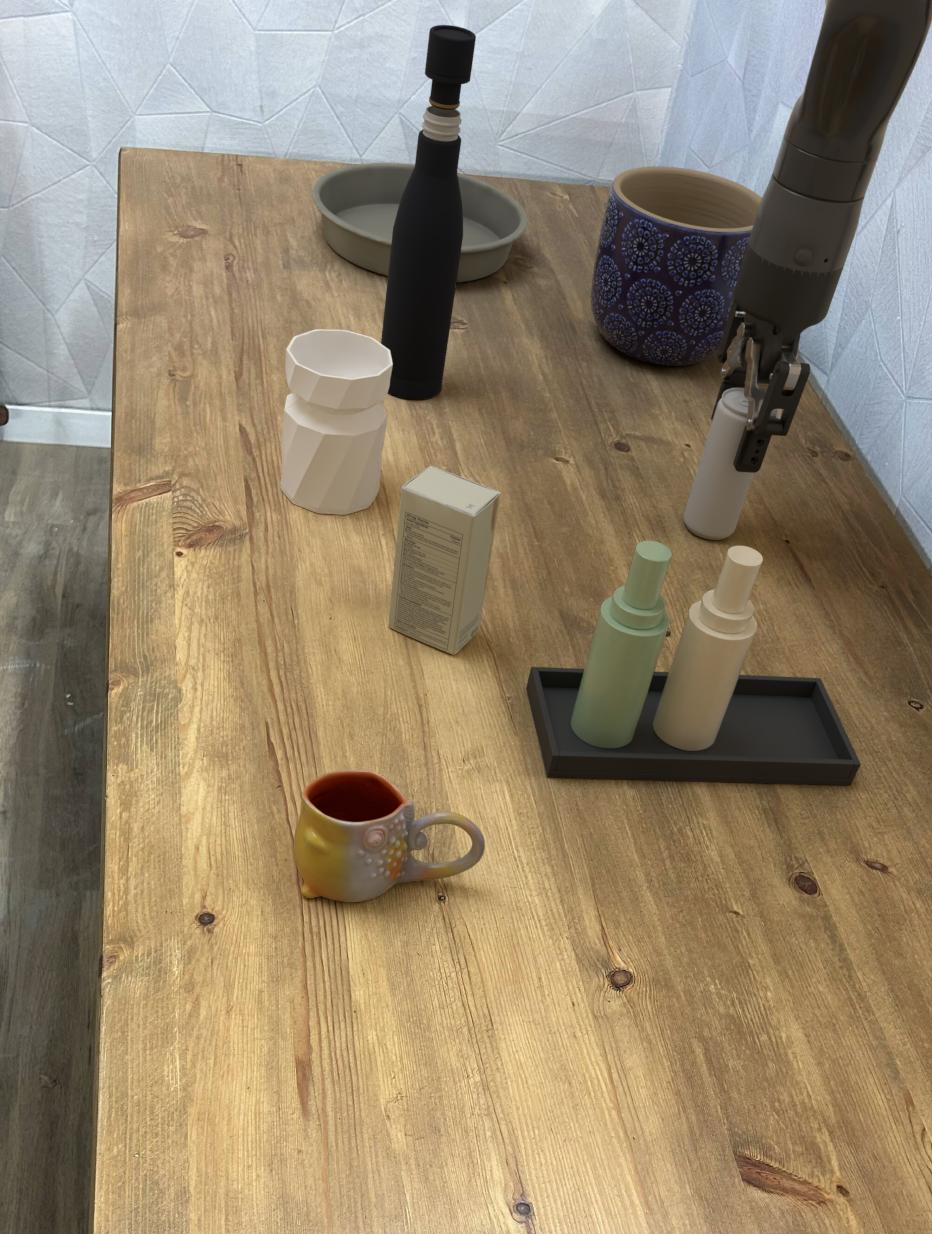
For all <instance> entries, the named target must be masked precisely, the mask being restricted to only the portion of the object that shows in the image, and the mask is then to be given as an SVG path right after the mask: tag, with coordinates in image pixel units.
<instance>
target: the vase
mask: <svg viewBox="0 0 932 1234" xmlns="http://www.w3.org/2000/svg"><path fill="white" fill-rule="evenodd" d="M392 366H393V363H392V358H391V353H390V350H389V349H388V348H386V347H385V346H383V345H382V344H381V342H379V341H378V340H377V339H375V338H373V337H372V336H369V335H365V334H361V333H358V332H355V331H354V332H353V331H350V330H347V329H320V328H315V329H312V330H309V331H306V332H303V333H300V334H297V335H294V336H293V337H292V339H291V341H289V344H288V345H287V347H286V349H285V377H286V378H285V379H286V383H287V388H288V390H289V391H291V393H289V394H287V395H286V399H285V404H284V409H283V416H282V425H281V477H280V483H279V485H280V488H279V489H280V491H281V492H282V493H283V494H284V495H285V497H286V498H288V500H290V502H291V504H293V505H296V506H298V507H301V508H304V509H306V510H308V511H310V512H313V513H315V514H323V515H341V516H346V515H351V514H353V513H356V512H359V511H363V510H365V509H369V507H370V506H371V505H372V503H373V502H374V501H375V499H376V498H377V497H378V494H379V491H380V485H381V472H382V457H383V450H384V444H385V438H386V437H385V436H386V431H387V423H388V414H387V412H386V410H385V407H384V405H383V404H382V402H383V401H385V400H386V399H387V397H388V395H389V393H388V390H389V386H390V378H391V372H392Z"/></svg>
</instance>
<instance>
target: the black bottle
mask: <svg viewBox="0 0 932 1234" xmlns="http://www.w3.org/2000/svg"><path fill="white" fill-rule="evenodd" d="M476 39H477V36H476V34H475V33H474V32H473V31H471V30H470V29H467V28H465V27H461V26H457V25H449V24H437V25H434V26H432V27H430V28H429V32H428V40H427V41H428V42H427V50H426V57H425V59H426V60H425V68H424V75H425V76H426V77H427V78H428V79H429V80H431V87H430V95H429V97H428V102H429V104H430V105H428V106H427V107H425V110H424V111H425V112H424V113H423V114H422V118H423V122H422V124H421V128H422V129H421V130H420V131H419V132H418V136H417V144H416V152H415V160H414V161H415V162H414V165H415V167H414V169H413V171H412V174H411V176H410V178H409V180H408V183H407V185H406V187H405V190H404V192H403V194H402V198H401V201H400V204H399V207H398V211H397V215H396V219H395V222H394V226H393V234H392V243H391V253H390V262H389V272H388V276H387V283H386V292H385V301H384V310H383V311H384V312H383V318H382V319H383V321H382V329H381V338H380V343H381V344H382V345H383V346H385V347H386V348H388V349H389V350H390V353H391V358H392V363H393V366H392V372H391V378H390V386H389V390H388V395H391V396H394V397H395V398H399V399H405V400H411V401H423V400H428V399H432V398H434V397H436V396H438V395H439V394H440V392H441V391H442V386H443V380H444V373H445V366H446V365H445V364H446V359H447V353H448V352H447V351H448V345H449V337H450V331H451V324H452V316H453V311H454V310H453V309H454V302H455V296H456V289H457V283H456V282H457V275H458V268H459V261H460V254H461V247H462V240H463V208H462V199H461V193H460V186H459V181H458V175H457V173H458V167H459V162H460V161H459V160H460V154H461V146H462V137H461V136H460V133H461V128H460V125H461V124H462V121H463V120H462V117H461V114H462V113H461V112H460V111H459V110H457V109H458V108H459V107H460V105H461V100H460V98H461V91H462V85H465V84H468V83H470V82H471V77H472V69H473V61H474V54H475V47H476Z"/></svg>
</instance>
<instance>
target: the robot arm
mask: <svg viewBox="0 0 932 1234" xmlns="http://www.w3.org/2000/svg"><path fill="white" fill-rule="evenodd" d="M824 4H825V9H824V13H823V18H822V22H821V26H820V30H819V33H818V38H817V42H816V45H815V47H814V52H813V56H812V59H811V63H810V67H809V70H808V72H807V73H808V74H807V77H806V81H805V84H804V88H803V92H802V93H801V94H800V95H799V97H798V98H797V99H796V101H795V103H794V106H793V108H792V110H791V113H790V114H789V118H788V121H787V123H786V126H785V128H784V129H785V130H784V134H783V136H782V139H781V142H780V146H779V149H778V152H777V156H776V159H775V164H774V166H773V170H772V173H771V176H770V179H769V181H768V184H767V186H766V188H765V191H764V193H763V195H762V196H761V197H762V200H761V202H760V205H759V208H758V211H757V215H756V218H755V222H754V225H753V228H752V232H751V235H750V238H749V242H748V245H747V248H746V252H745V255H744V259H743V262H742V265H741V269H740V272H739V275H738V279H737V282H736V286H735V289H734V298H733V302H732V306H731V309H730V313H729V316H728V320H727V323H726V327H725V330H724V334H723V337H722V341H721V345H720V348H719V350H718V351H717V362H718V363H720V364H722V366H721V368H720V372H719V373H720V379H721V383H720V387H719V391H718V394H717V397H716V399H715V403H714V407H713V410H712V414H711V416H710V419H711V422H712V421H713V418H714V414H715V411H716V408H717V404H718V402H719V400H720V399H721V398H722V394H723V393H724V391H726V390H727V389H731V388H744V397H745V398H746V399H747V400H748V402H749V405H748V413H747V421H746V426H745V428H744V431H743V434H742V437H741V440H740V443H739V446H738V450H737V453H736V456H735V459H734V462H733V465H734V467H735V469H736V471H738V472H749V473H754V474H756V473H758V472H759V471H760V470H761V469H762V465H763V462H764V459H765V457H766V453H767V450H768V448H769V444H770V442H771V439H772V436H779V437H786V436H787V435H788V433H789V431H790V428H791V425H792V423H793V421H794V417H795V415H796V412H797V409H798V407H799V404H800V401H801V398H802V395H803V393H804V391H805V387H806V384H807V382H808V379H809V377H810V373H811V365H810V363H807V362H798V356H799V347H800V341H801V335H802V333H803V332H804V331H805V330H807V329H809V328H810V327H813V326H817V325H819V324H820V323H821V322H823V321H824V320H825V318H827V316H828V312H829V309H830V307H831V304H832V301H833V299H834V296H835V293H836V290H837V287H838V284H839V282H840V279H841V276H842V273H843V271H844V268H845V265H846V261H847V258H848V255H849V253H850V250H851V247H852V245H853V241H854V239H855V235H856V232H857V229H858V226H859V222H860V217H861V212H862V208H863V203H864V200H865V197H866V193H867V191H868V188H869V185H870V182H871V180H872V176H873V174H874V171H875V168H876V165H877V162H878V159H879V156H880V154H881V150H882V147H883V145H884V140H885V137H886V133H887V129H888V126H889V124H890V120H891V119H892V116H893V113H894V112H895V110H896V108H897V106H898V104H899V102H900V100H901V98H902V95H903V94H904V92H905V89H906V88H907V85H908V82H909V80H910V78H911V76H912V74H913V72H914V70H915V68H916V65H917V63H918V60H919V58H920V56H921V54H922V53H921V52H922V50H923V48H924V45H925V43H926V39H927V37H928V34H929V31H930V29H931V25H932V0H824ZM758 384H762V385H763V384H764V385H767V388H760V387H759V386H758ZM761 400H763V402H762V405H761V408H760V411H759V404H760V401H761ZM758 412H759V414H758Z"/></svg>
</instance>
